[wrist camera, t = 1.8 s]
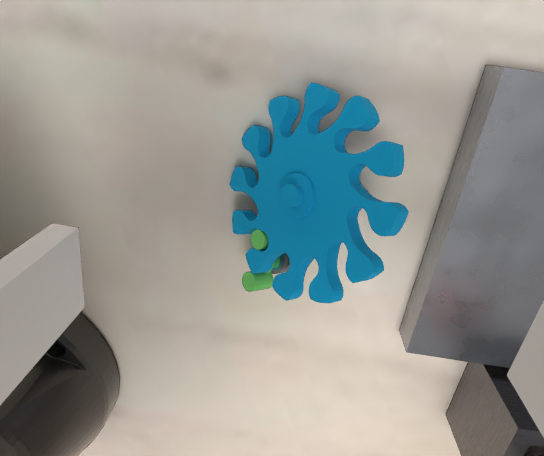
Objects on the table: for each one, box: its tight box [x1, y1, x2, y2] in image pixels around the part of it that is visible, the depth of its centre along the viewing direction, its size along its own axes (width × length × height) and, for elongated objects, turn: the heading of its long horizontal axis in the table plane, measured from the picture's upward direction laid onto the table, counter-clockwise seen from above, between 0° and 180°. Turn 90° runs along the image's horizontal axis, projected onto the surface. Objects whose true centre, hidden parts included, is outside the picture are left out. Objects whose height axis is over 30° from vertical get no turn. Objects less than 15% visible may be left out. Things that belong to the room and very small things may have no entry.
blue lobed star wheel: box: [230, 82, 408, 303], centre depth 21 cm, size 11×6×10 cm
